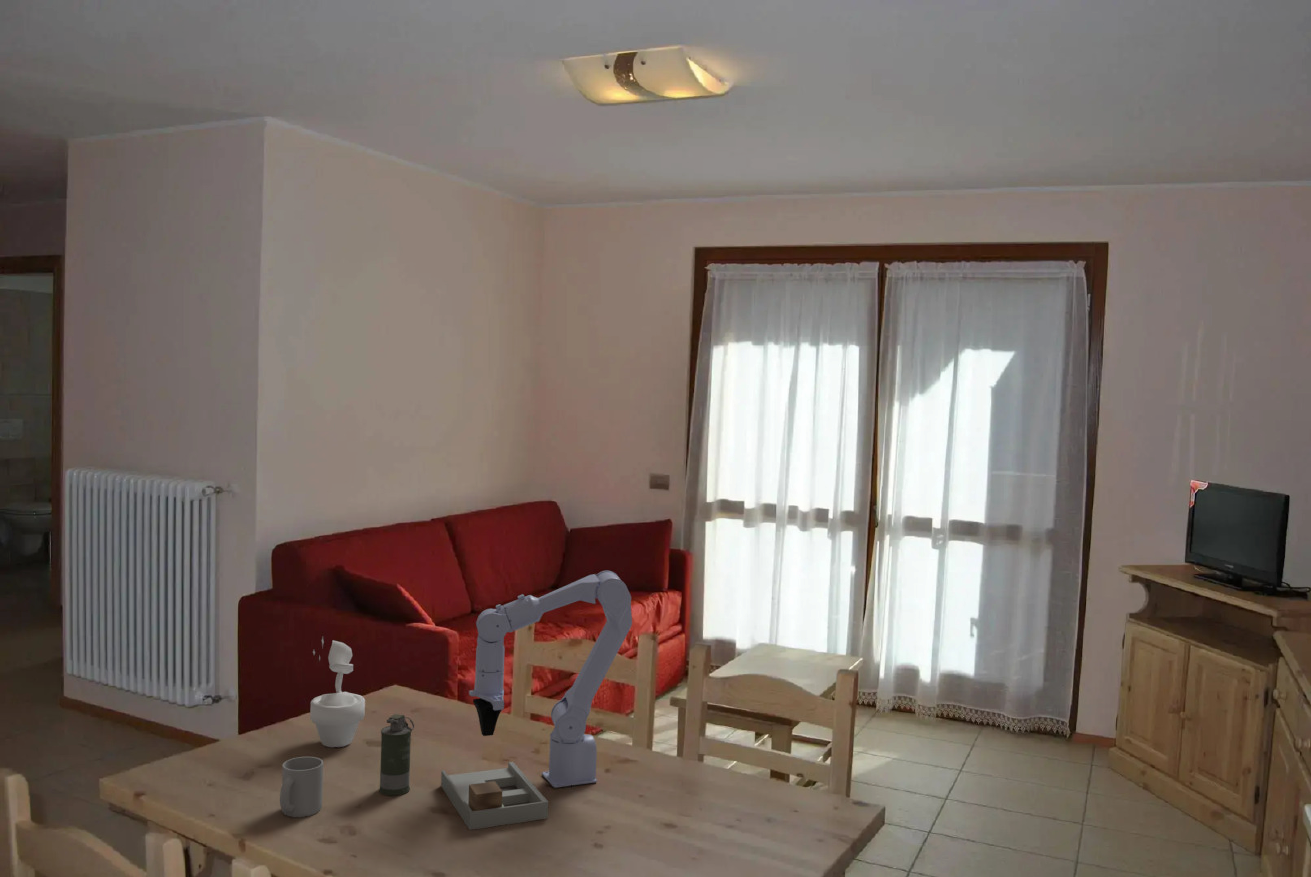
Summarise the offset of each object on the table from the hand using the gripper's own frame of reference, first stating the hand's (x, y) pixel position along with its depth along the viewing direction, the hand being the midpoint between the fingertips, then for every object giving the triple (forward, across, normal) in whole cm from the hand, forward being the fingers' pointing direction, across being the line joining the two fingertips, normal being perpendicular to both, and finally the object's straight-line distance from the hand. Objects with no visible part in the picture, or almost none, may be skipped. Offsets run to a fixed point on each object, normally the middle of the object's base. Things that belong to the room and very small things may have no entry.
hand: (487, 734), depth 209 cm
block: (+8, +17, -5) cm, 20 cm away
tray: (+10, +10, -2) cm, 14 cm away
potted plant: (+10, -32, -25) cm, 42 cm away
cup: (+10, +3, -37) cm, 38 cm away
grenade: (+10, -2, -18) cm, 21 cm away
